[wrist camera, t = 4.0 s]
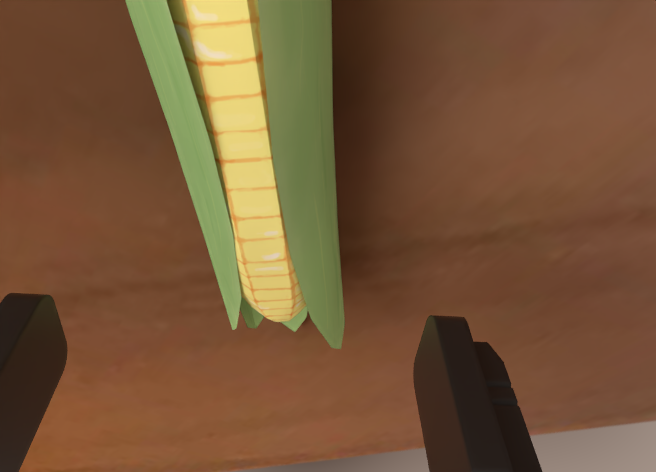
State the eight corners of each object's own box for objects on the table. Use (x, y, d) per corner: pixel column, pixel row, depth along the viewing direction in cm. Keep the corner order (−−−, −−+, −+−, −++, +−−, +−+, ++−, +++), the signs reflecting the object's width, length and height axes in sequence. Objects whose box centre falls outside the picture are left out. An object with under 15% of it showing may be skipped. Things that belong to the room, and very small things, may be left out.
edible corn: (315, -288, 12) (316, -328, 8) (352, 320, 24) (358, 408, 21) (87, -266, 12) (-7, -296, 9) (240, 327, 25) (227, 415, 21)
